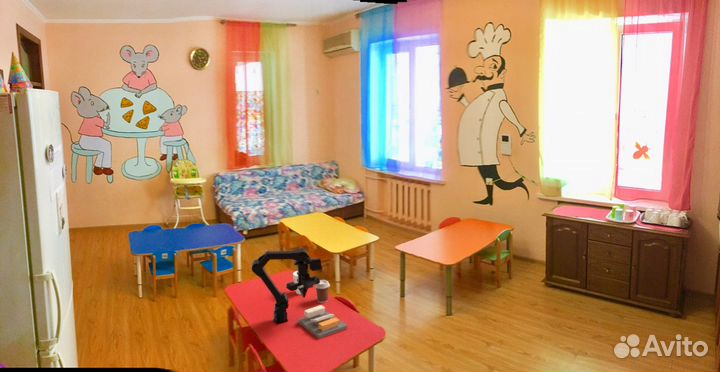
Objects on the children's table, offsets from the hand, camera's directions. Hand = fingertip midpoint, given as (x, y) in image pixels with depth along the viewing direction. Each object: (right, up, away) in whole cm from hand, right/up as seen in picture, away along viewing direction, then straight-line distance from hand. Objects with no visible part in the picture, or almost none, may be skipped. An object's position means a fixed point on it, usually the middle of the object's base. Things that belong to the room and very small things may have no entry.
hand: (303, 297), depth 276 cm
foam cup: (-6, -5, +37) cm, 38 cm away
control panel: (+11, -14, -5) cm, 19 cm away
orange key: (+15, -13, -11) cm, 23 cm away
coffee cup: (+9, -8, +26) cm, 28 cm away
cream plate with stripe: (+11, -10, -6) cm, 16 cm away
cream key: (+6, -9, 0) cm, 11 cm away
